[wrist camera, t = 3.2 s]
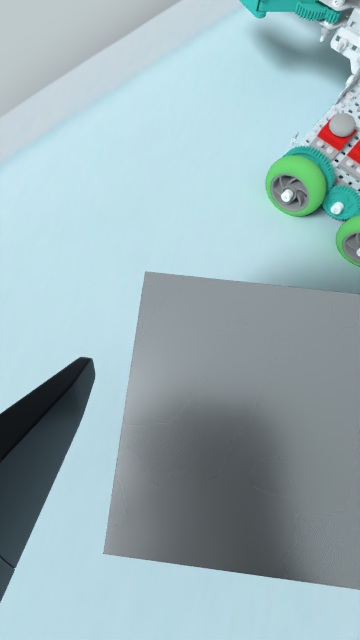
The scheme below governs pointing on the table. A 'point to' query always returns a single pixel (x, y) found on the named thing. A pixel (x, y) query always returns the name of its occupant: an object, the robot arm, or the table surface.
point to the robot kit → (324, 132)
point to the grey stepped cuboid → (242, 431)
